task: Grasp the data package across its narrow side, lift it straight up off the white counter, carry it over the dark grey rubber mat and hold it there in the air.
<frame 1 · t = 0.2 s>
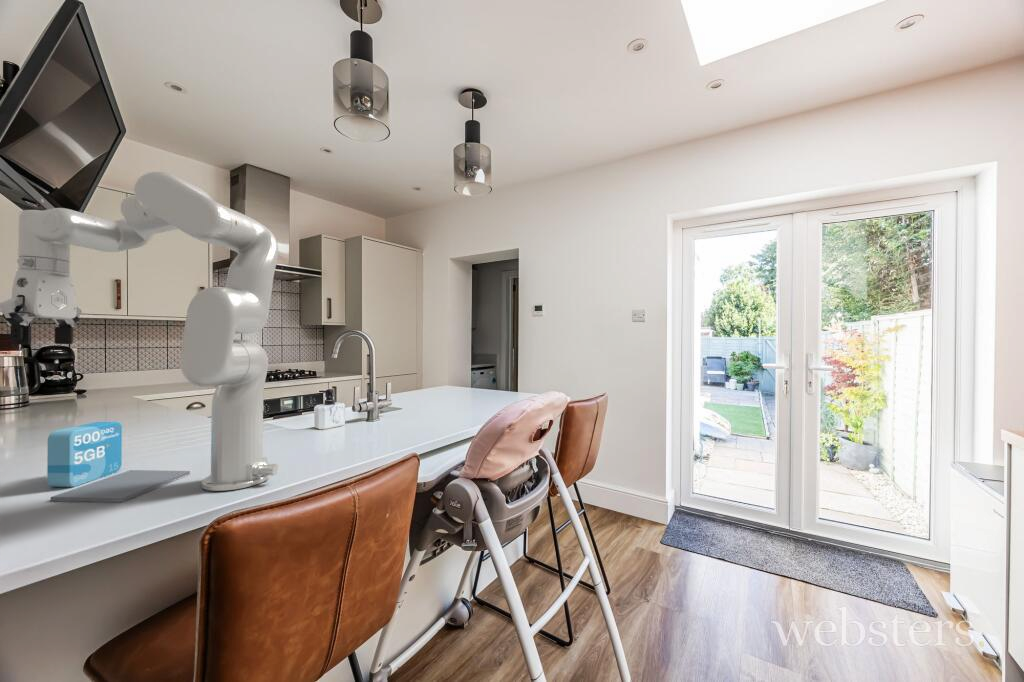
hand: (43, 344, 89), 30 cm above the countertop, tool pointing down, fingers open, 9 cm apart
data package: (86, 480, 89), on the countertop
grey mat: (126, 486, 85), on the countertop
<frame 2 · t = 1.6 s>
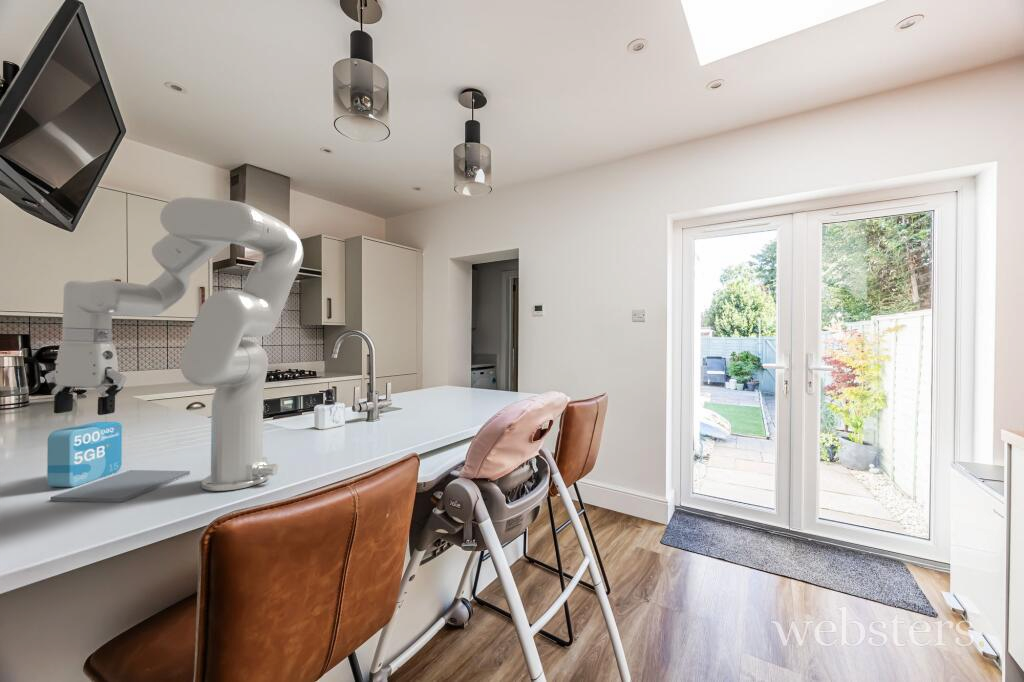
hand: (84, 413, 89), 15 cm above the countertop, tool pointing down, fingers open, 9 cm apart
nothing on the countertop moved.
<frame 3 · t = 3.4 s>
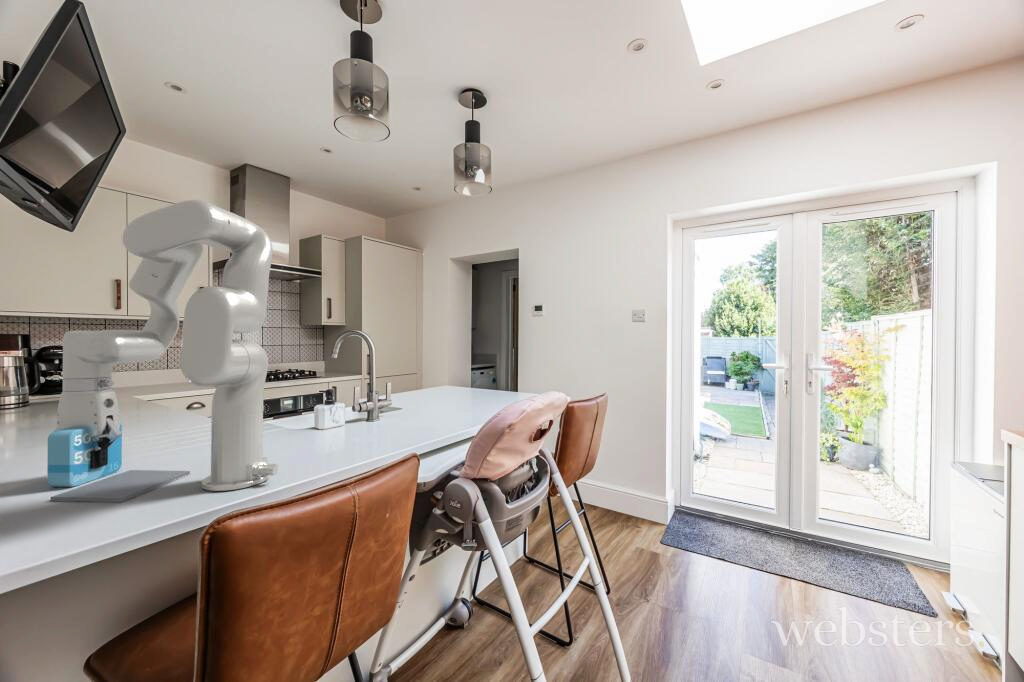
hand: (87, 465, 89), 3 cm above the countertop, tool pointing down, fingers closed on data package, 4 cm apart
data package: (86, 480, 89), on the countertop, touching gripper
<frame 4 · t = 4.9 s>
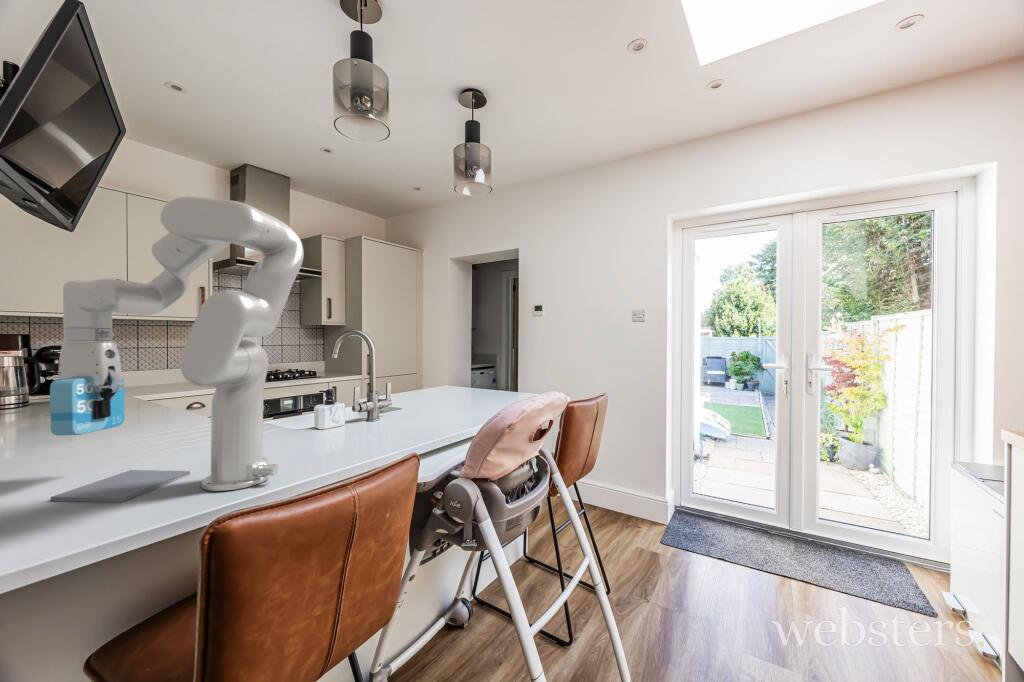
hand: (89, 417, 89), 14 cm above the countertop, tool pointing down, fingers closed on data package, 4 cm apart
data package: (90, 431, 89), point 11 cm above the countertop, touching gripper
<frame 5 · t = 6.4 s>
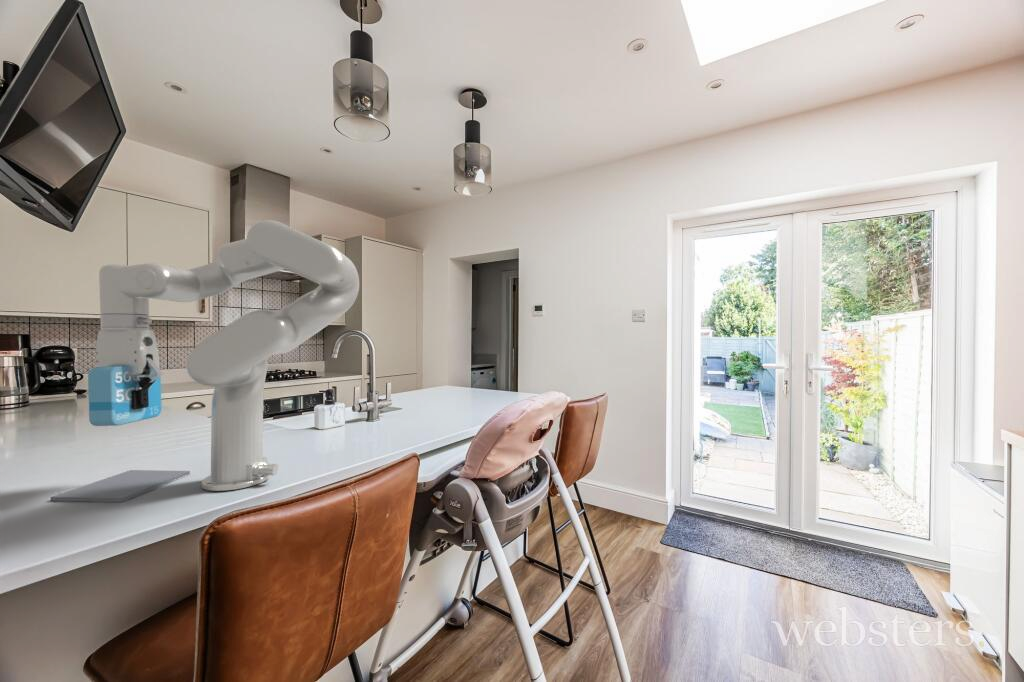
hand: (127, 407, 85), 17 cm above the countertop, tool pointing down, fingers closed on data package, 4 cm apart
data package: (128, 422, 85), point 14 cm above the countertop, touching gripper
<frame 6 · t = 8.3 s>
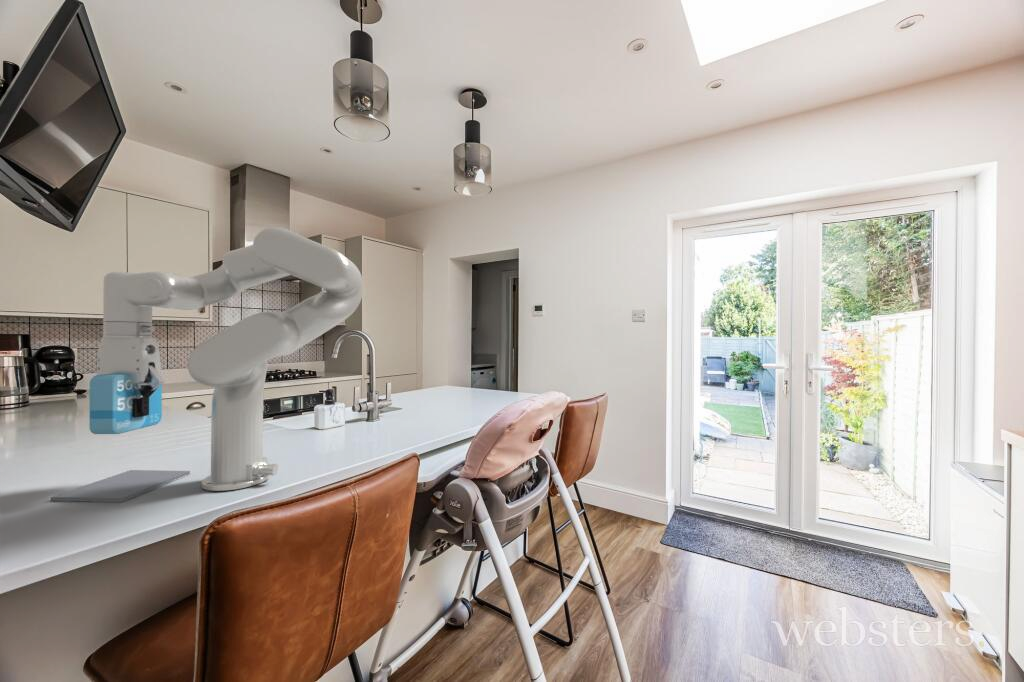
hand: (128, 415, 85), 15 cm above the countertop, tool pointing down, fingers closed on data package, 4 cm apart
data package: (128, 430, 85), point 12 cm above the countertop, touching gripper
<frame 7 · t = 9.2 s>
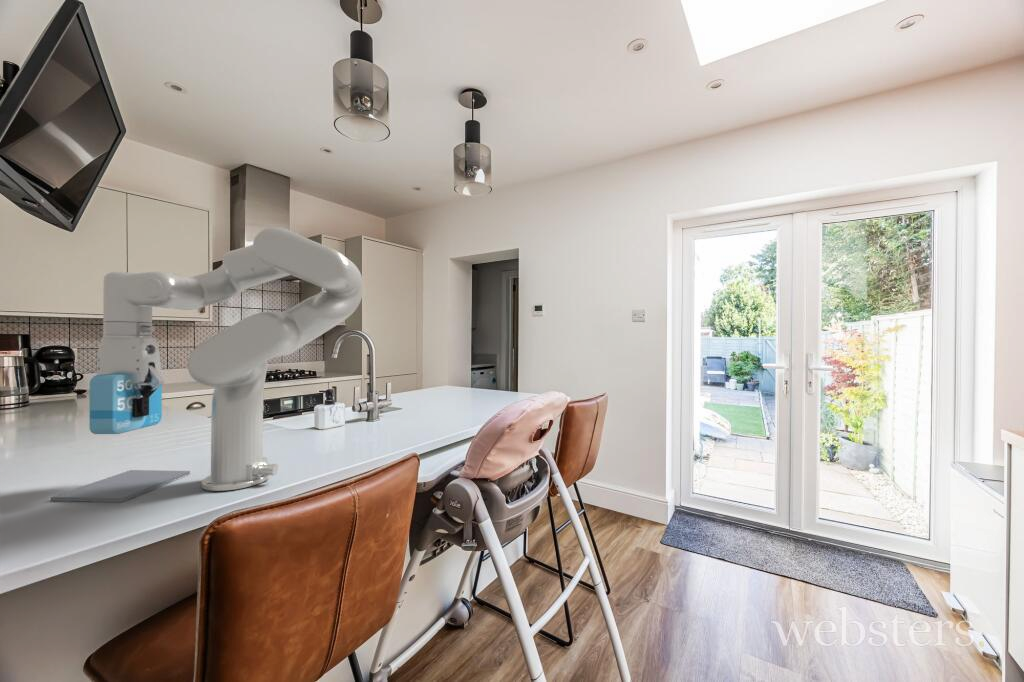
hand: (128, 415, 85), 15 cm above the countertop, tool pointing down, fingers closed on data package, 4 cm apart
data package: (128, 430, 85), point 12 cm above the countertop, touching gripper
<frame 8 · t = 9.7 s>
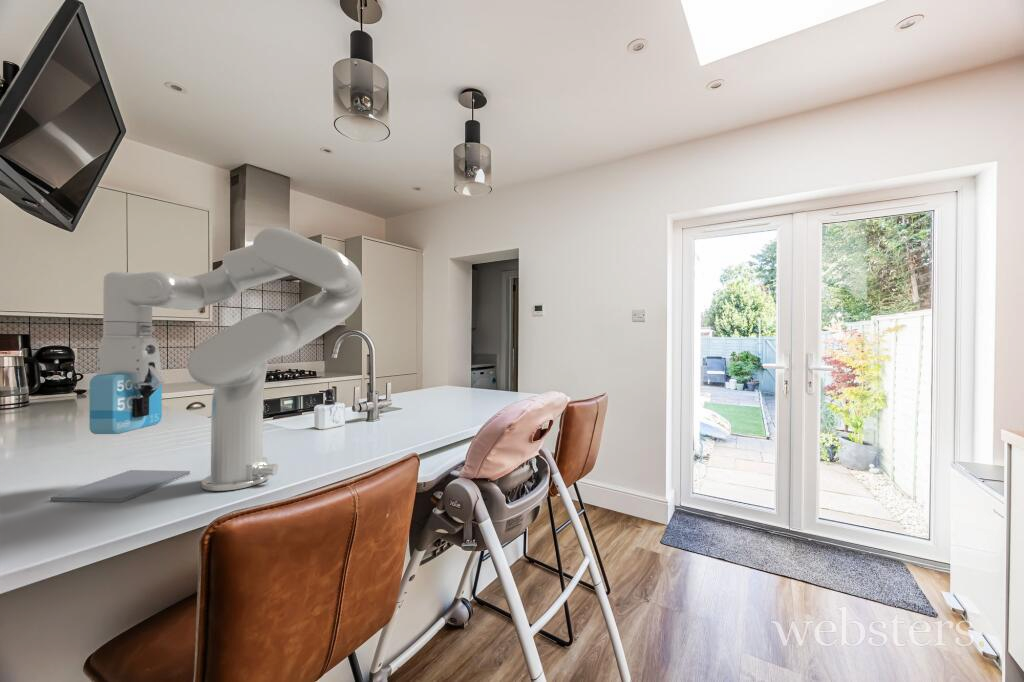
hand: (128, 415, 85), 15 cm above the countertop, tool pointing down, fingers closed on data package, 4 cm apart
data package: (128, 430, 85), point 12 cm above the countertop, touching gripper
at the end: the gripper is holding data package; data package point 12.1 cm above the countertop; data package 0.2 cm from the grey mat (horizontally) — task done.
